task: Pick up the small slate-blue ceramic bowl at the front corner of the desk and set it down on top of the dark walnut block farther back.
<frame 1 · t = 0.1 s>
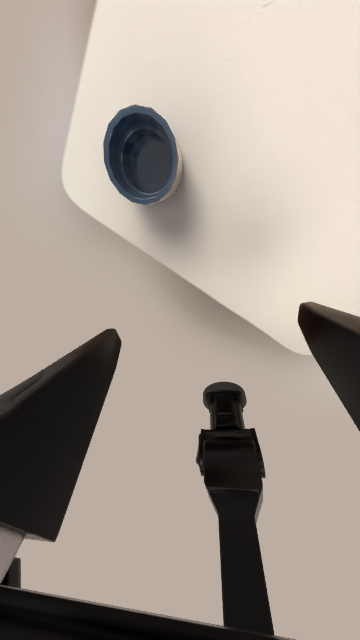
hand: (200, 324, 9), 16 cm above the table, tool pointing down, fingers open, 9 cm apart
bowl: (152, 166, 19), on the table
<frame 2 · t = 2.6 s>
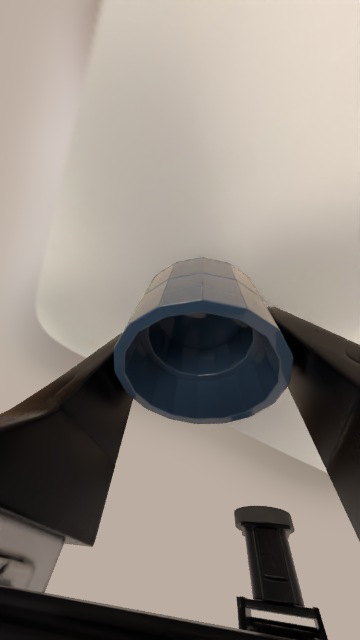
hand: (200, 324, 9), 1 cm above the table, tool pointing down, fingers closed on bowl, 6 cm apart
bowl: (199, 311, 10), on the table, touching gripper
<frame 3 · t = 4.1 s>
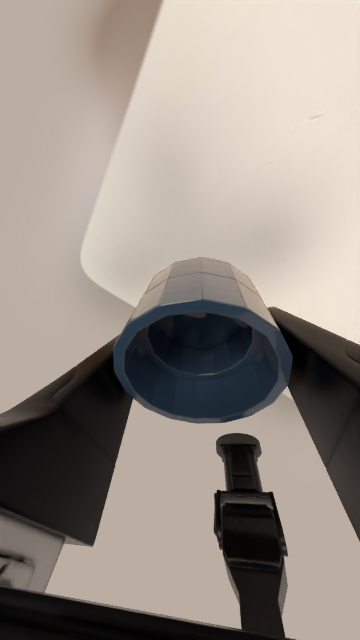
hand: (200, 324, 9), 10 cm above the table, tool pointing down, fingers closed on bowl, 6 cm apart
bowl: (199, 311, 10), point 9 cm above the table, touching gripper
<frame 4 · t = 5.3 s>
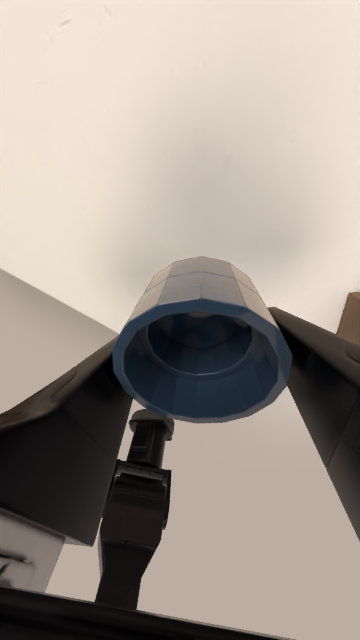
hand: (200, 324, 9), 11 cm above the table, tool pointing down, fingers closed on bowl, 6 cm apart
bowl: (199, 310, 10), point 10 cm above the table, touching gripper
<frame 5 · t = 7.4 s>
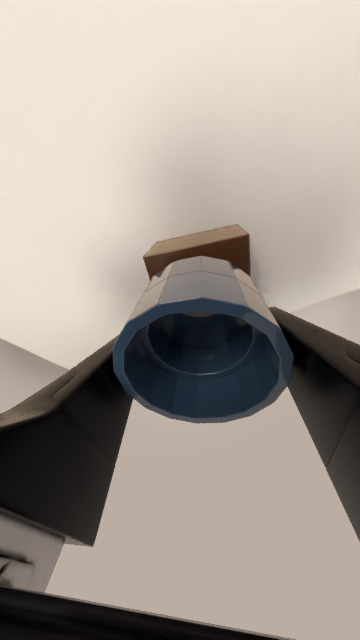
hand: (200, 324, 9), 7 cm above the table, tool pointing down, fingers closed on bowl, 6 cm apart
bowl: (199, 310, 10), point 6 cm above the table, touching gripper
walnut block: (201, 272, 15), on the table
when the fingers open (5 cm above the table, at t = 8.5 s): bowl stays where it is, resting on walnut block.
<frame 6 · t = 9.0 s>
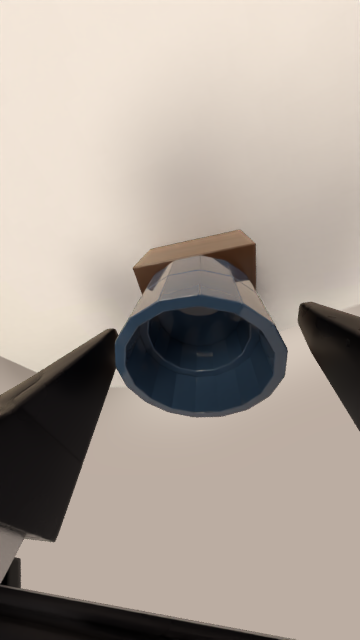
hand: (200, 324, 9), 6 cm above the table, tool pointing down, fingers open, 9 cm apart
bowl: (198, 308, 11), point 4 cm above the table, touching walnut block
walnut block: (200, 282, 14), on the table
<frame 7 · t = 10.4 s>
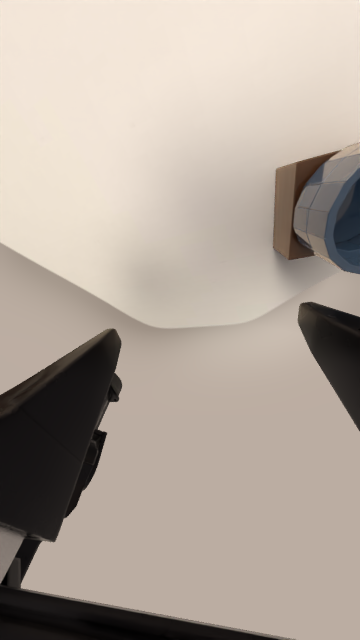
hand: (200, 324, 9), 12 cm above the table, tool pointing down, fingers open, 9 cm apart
bowl: (341, 205, 12), point 4 cm above the table, touching walnut block
walnut block: (313, 203, 16), on the table
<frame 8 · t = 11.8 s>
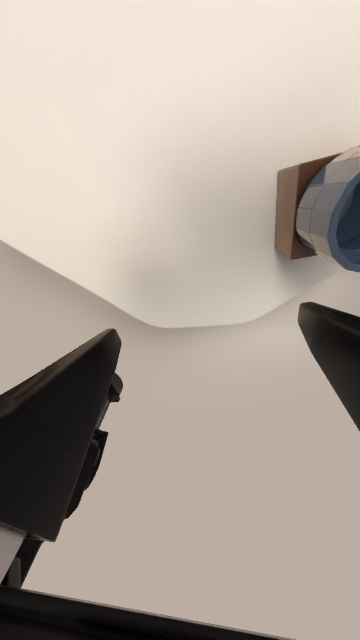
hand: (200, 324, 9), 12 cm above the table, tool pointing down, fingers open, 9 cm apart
bowl: (342, 206, 13), point 4 cm above the table, touching walnut block
walnut block: (313, 204, 16), on the table
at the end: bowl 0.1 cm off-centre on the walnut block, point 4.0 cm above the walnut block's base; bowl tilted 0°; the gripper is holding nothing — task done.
